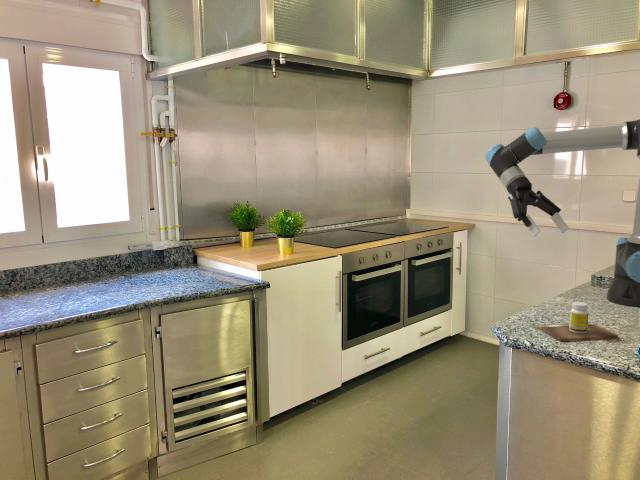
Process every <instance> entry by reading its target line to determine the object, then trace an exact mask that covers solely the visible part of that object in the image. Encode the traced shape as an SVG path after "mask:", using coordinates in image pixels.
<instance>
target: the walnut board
mask: <svg viewBox="0 0 640 480" xmlns="http://www.w3.org/2000/svg"><path fill="white" fill-rule="evenodd" d="M569 325H570V322H569V323H554V324H553V323H552V324H538V325H536V328H537V330H540V331H541V332H543V333H545V334H546V335H548V336H549V337H551V338H553V339H555V340H557V341H558V342H560V343H561V342H562V343H563V342H574V341H575V342H576V341H577V342H579V341H592V340H593V341H594V340H609V339H618V338H619V335H618V334H616V333H614V332H612V331H609V330H608V329H606V328H604V327H601V326H599V325H598V324H595V323H594V322H591V321H588V326H587V332H586V333H574V332H571V331H570V330H569Z"/></svg>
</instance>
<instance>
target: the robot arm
mask: <svg viewBox="0 0 640 480" xmlns="http://www.w3.org/2000/svg"><path fill="white" fill-rule="evenodd" d="M617 148H619V149H620V148H621V149H622V150H623V151H628V150H629V151H631V150H634V151H635V150H636V151H637V152H636V157H637V158H638V160H640V118H639V119H634V120H628V121H623V122H622V123H621V124H619V125H610V126H608V125H607V126H599V127H589V128H582V129H581V128H580V129H569V130H560V131H553V132H552V131H551V132H541V131H540V129H539V128H538V127H536V126H533V127H531V128H530V129H528V130H526V131H525V132H524V133H522V134H521V135H520V136H518V137H517V138H516V139H514V140H512V141H511V142H510V143H508V144H506V145H505V146H504V145H503V144H501V143H499V144H498V143H497V144H496V145H493V146H491V147H490V148H488V150H487V151H486V153H485V160H486V162H487V163H488V165H489V167H490V169H491V170H492V171H493V172H494V174H495V175H496V176H497V178H498V179H499V180H500V183H502V185H503V186H504V189H506V191H507V192H508V194H509V195H508V197H507V199H508V200H509V201H510V206H511V210H512V215H513V218H514V219H516V220H517V221H518V222H521V221H522V223H523V224H524V225H525V227H526V228H527V230H528V231H529V232H530V234H531V235H532V237H536V236H537V235H538V234H539V233H541V230H540V228H539V227H538V225H537V224H536V222H535V220H533V218H532V217H531V216H530V215H529V214H528V213H527V212H528V206H533V208H536V207H537V208H538V209H539V210H541V211H543V212H544V213H545V214H548V216H550V220H552V222H553V223H554V224H555V226H556V227H557V229H558V230H559V231H560V233H561V234H565V233H566V231H568V229H569V228H570V227H569V226H568V225H567V223H566V222H565V221H564V219H563V217H562V216H561V215H560V212H561V211H562V209H561V208H560V207H559V206H558V205H556V204H555V203H554V202H553V201H551V200H550V198H548V197H546V196H545V195H544V194H543V193H542V191H541V190H537V191H536V192H535V191H534V190H533V189H532V187H533V184H532V182H531V181H530V180H529V178H528V177H527V176H526V173H524V171H523V170H522V169H521V168H520V166H519V164H520V163H521V162H523V161H525V159H527V158H529V157H530V156H537V155H547V154H556V153H558V154H559V153H570V152H579V151H580V152H582V151H583V152H586V151H594V150H605V149H606V150H607V149H617ZM637 188H638V189H637V196H636V203H635V212H634V221H633V229H632V234H631V236H629V237H619V238H618V239H617V240H616V241H617V242H616V247H615V248H616V250H615V251H616V252H615V260H614V261H615V262H614V271H613V272H614V273H613V274H614V275H613V279H612V281H611V283H610V286H609V289H608V290H607V292H606V300H608V301H610V302H612V303H614V304H619V305H622V306H628V307H629V306H631V307H640V177H639V179H638V187H637Z"/></svg>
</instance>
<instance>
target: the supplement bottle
mask: <svg viewBox="0 0 640 480" xmlns="http://www.w3.org/2000/svg"><path fill="white" fill-rule="evenodd" d="M571 307H572V308H571V309H570V313H569V314H570V315H569V323H570V325H569V330H570V331H571V332H574V333H586V332H587V326H588V322H589V316H590V315H589V311H588V310H589V304H588V303H587V302H582V301H574V302H572V306H571Z"/></svg>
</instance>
